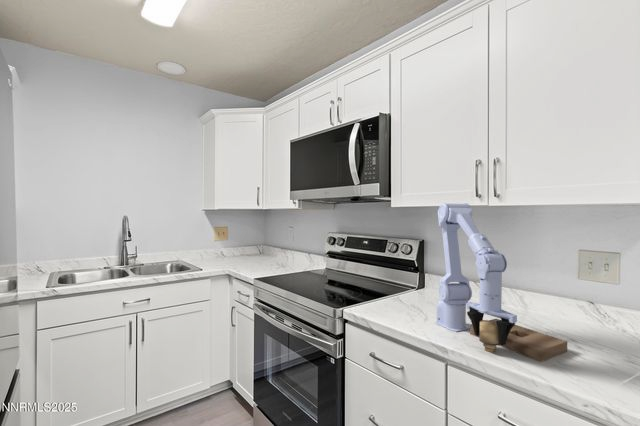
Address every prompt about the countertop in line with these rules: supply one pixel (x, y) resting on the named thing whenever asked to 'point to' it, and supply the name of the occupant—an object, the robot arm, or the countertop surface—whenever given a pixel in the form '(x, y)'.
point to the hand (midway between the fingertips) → (489, 339)
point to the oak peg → (489, 335)
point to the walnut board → (532, 343)
